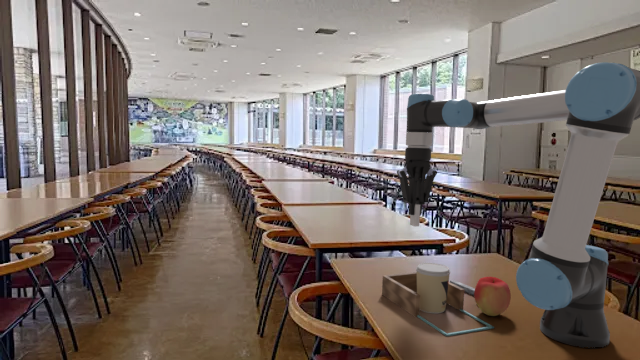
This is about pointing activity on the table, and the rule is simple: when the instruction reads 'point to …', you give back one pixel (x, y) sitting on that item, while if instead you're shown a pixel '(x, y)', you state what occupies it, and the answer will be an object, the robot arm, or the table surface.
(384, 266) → the table surface
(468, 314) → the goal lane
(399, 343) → the table surface
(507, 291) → the apple
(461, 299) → the cubby
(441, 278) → the coffee cup
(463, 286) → the crook tool
